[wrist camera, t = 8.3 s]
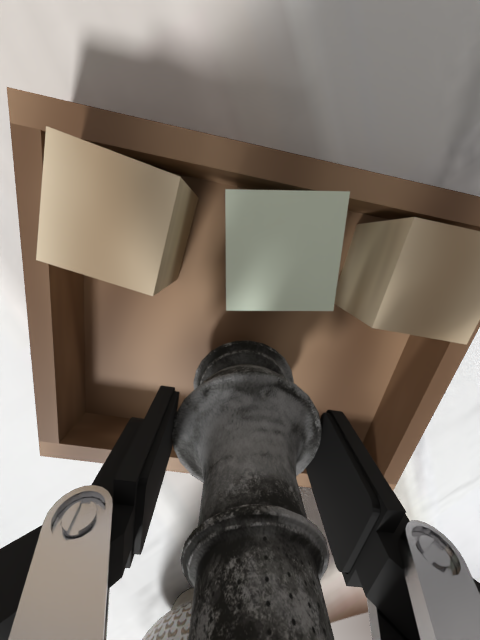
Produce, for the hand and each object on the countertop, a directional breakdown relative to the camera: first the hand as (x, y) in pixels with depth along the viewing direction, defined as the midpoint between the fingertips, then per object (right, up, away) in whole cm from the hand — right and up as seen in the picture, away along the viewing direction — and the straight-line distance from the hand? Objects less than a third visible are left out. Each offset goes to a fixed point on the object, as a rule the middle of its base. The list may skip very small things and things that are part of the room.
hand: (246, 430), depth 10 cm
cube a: (+7, +7, +3) cm, 10 cm away
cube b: (+1, +8, +2) cm, 8 cm away
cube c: (-5, +9, +2) cm, 10 cm away
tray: (0, +4, +4) cm, 6 cm away
